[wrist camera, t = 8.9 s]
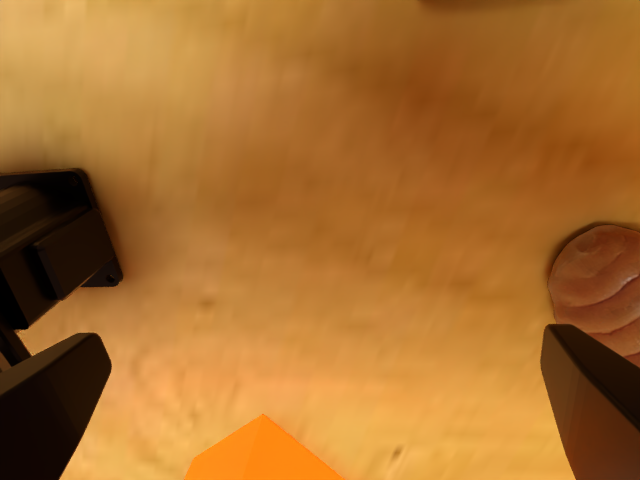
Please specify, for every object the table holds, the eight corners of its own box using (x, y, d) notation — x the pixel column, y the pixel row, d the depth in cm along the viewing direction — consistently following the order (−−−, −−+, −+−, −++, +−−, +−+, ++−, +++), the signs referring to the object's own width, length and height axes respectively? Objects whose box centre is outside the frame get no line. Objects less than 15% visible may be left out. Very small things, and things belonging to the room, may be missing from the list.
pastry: (500, 271, 21) (523, 320, 17) (644, 183, 18) (704, 220, 15) (604, 390, 23) (642, 454, 19) (745, 328, 20) (817, 389, 17)
